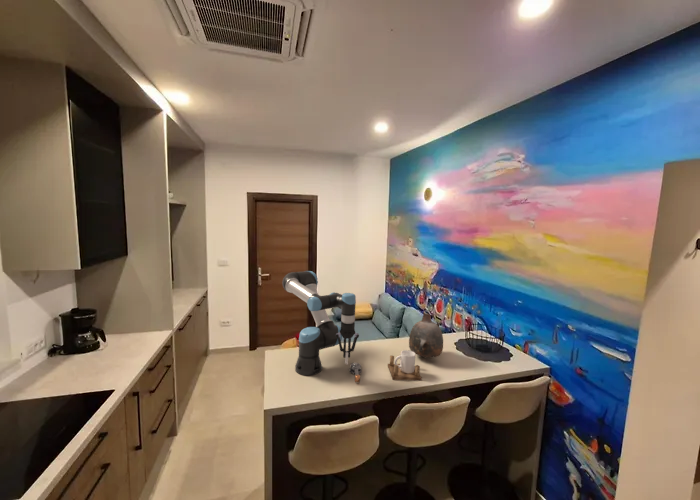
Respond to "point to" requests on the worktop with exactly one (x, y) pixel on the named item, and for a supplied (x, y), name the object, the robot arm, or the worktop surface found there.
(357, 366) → the grey metal tool
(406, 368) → the mug
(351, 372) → the nut washer
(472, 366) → the worktop surface
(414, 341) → the jug
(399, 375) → the peg rest
